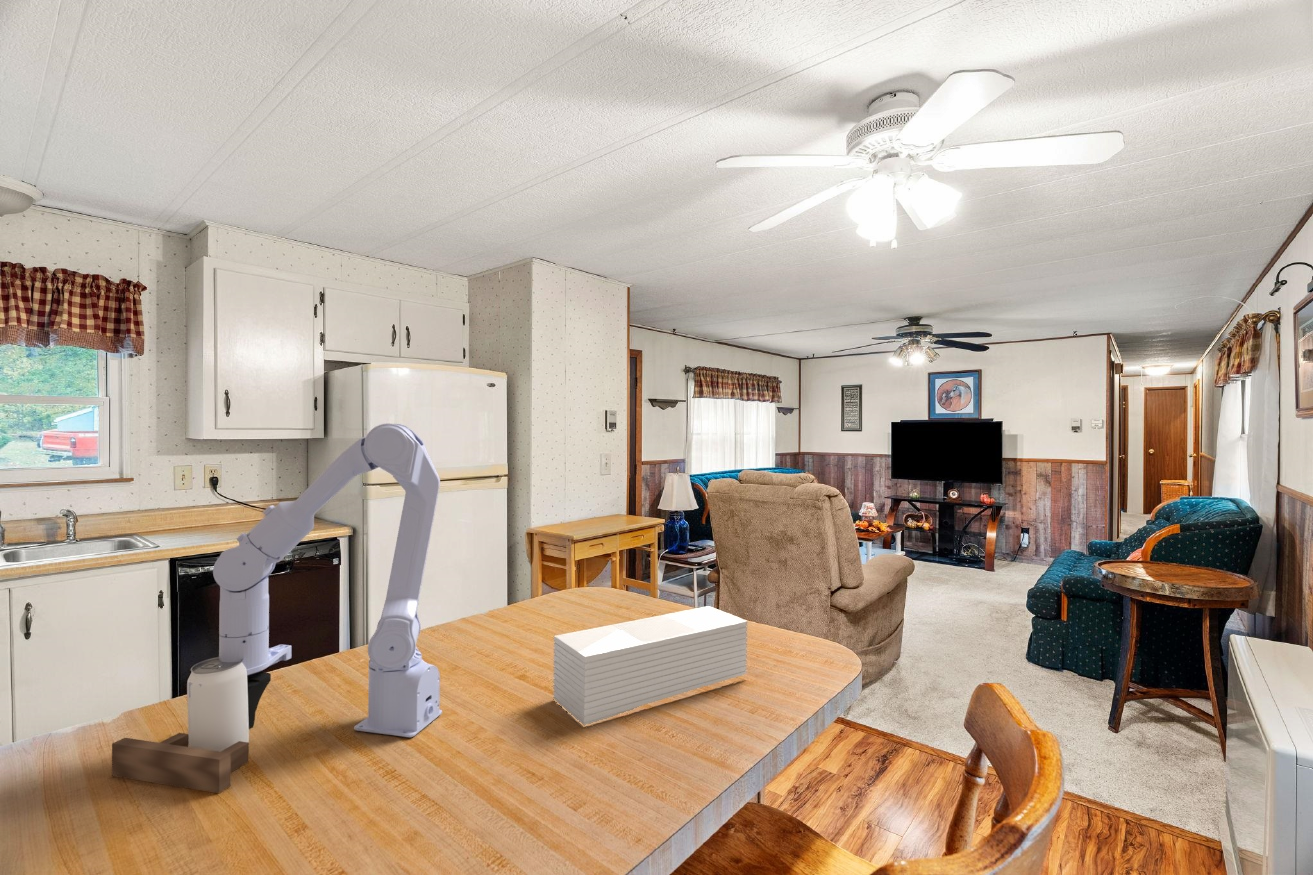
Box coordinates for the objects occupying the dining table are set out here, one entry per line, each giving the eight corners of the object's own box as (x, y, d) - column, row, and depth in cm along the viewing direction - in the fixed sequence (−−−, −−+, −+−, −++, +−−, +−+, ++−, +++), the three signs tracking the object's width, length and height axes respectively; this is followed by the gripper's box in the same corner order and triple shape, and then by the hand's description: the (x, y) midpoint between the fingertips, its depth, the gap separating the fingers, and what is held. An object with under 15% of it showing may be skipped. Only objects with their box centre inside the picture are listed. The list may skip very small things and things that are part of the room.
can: (221, 768, 78) (218, 675, 77) (176, 764, 79) (173, 672, 78) (260, 741, 84) (258, 655, 84) (218, 738, 85) (216, 653, 85)
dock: (264, 764, 79) (265, 733, 79) (219, 793, 73) (219, 759, 73) (164, 749, 82) (164, 719, 82) (111, 775, 76) (112, 743, 76)
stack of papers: (708, 662, 117) (708, 605, 116) (746, 681, 108) (747, 620, 108) (553, 702, 99) (554, 635, 98) (583, 729, 90) (584, 656, 90)
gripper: (263, 613, 93) (263, 702, 93) (169, 646, 79) (168, 751, 79) (303, 617, 91) (302, 707, 92) (214, 651, 77) (214, 758, 77)
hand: (243, 728), depth 85 cm, fingers closed
